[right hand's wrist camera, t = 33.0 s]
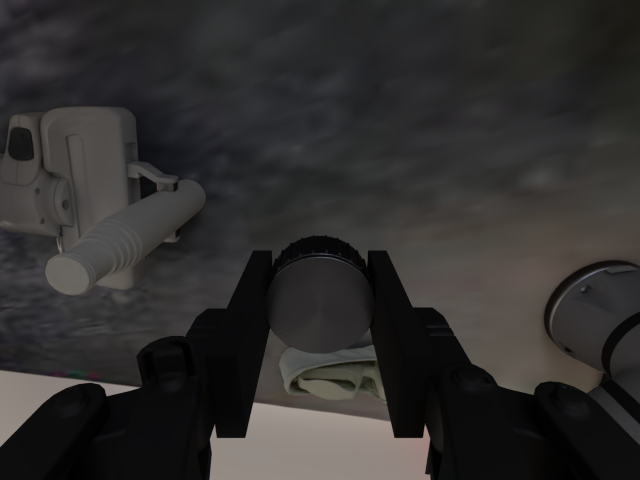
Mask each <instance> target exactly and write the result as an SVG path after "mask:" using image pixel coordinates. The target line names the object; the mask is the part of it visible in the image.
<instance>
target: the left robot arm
mask: <svg viewBox="0 0 640 480" xmlns="http://www.w3.org/2000/svg"><path fill="white" fill-rule="evenodd" d="M142 176H145V177H147V178H148V179H150V180H152V181H153V182H155V183H157V191H165V190H166V191H167V192H175V191H176V190H178V181H179V180H178V176H174V175H165V174H163V173H162V172H161V171H159V170H158V169H156V168H155V167H154V166H152V165H151V164H149V163H148V162H140V161H139V159H138V145H137V130H136V118H135V116H134V115H133V114H132V113H131V112H130V111H129V110H127V109H126V108H124V107H109V106H75V107H61V108H55V109H52V110H50V111H48V112H41V111H40V112H27V113H21V114H16V115H13V116H12V117H11V119H10V123H9V130H8V137H7V144H6V149H5V153H0V229H3V230H5V231H9V232H14V233H24V234H33V235H44V236H53V237H56V240H57V246H58V250H59V253H64V252H66V251H68V250H69V249H71V248H72V247H73V245H74V244H75V243H76V242H77V241H78V240H79V238H80V237H82V235H83V234H84V233H85V232H86V231H87V230H88V229H89V228H90V227H91V226H93V225H94V224H95V223H97V222H98V221H100V220H102V219H104V218H106V217H108V216H110V215H112V214H114V213H116V212H118V211H120V210H122V209H124V208H126V207H128V206H130V205H132V204H134V203H136V202H138V201H140V200H141V188H140V177H142ZM179 239H180V228H178V229H177V230H176V231H175V232H174V233H173V234H171V235H170V236H169V237H168V238H167V239H165V240H164V241H163V242H177V241H178V240H179ZM145 275H146V260H145V257H144V258H143V259H142V260H140V261H139V262H138V263H137V264H136V265H134V266H133V267H131V268H129V269H127V270H125V271H123V272H120V273H118V274H115V275H112V276H109V277H107V278H104V279H100V280H99V281H98V282H96V283H95V285H98V286H103V287H108V288H113V289H119V290H128V289H130V288H132V287H133V286H135V285H136V284H137V283H138V282H140V281H141V280H142V279H143V278H144V276H145Z"/></svg>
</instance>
